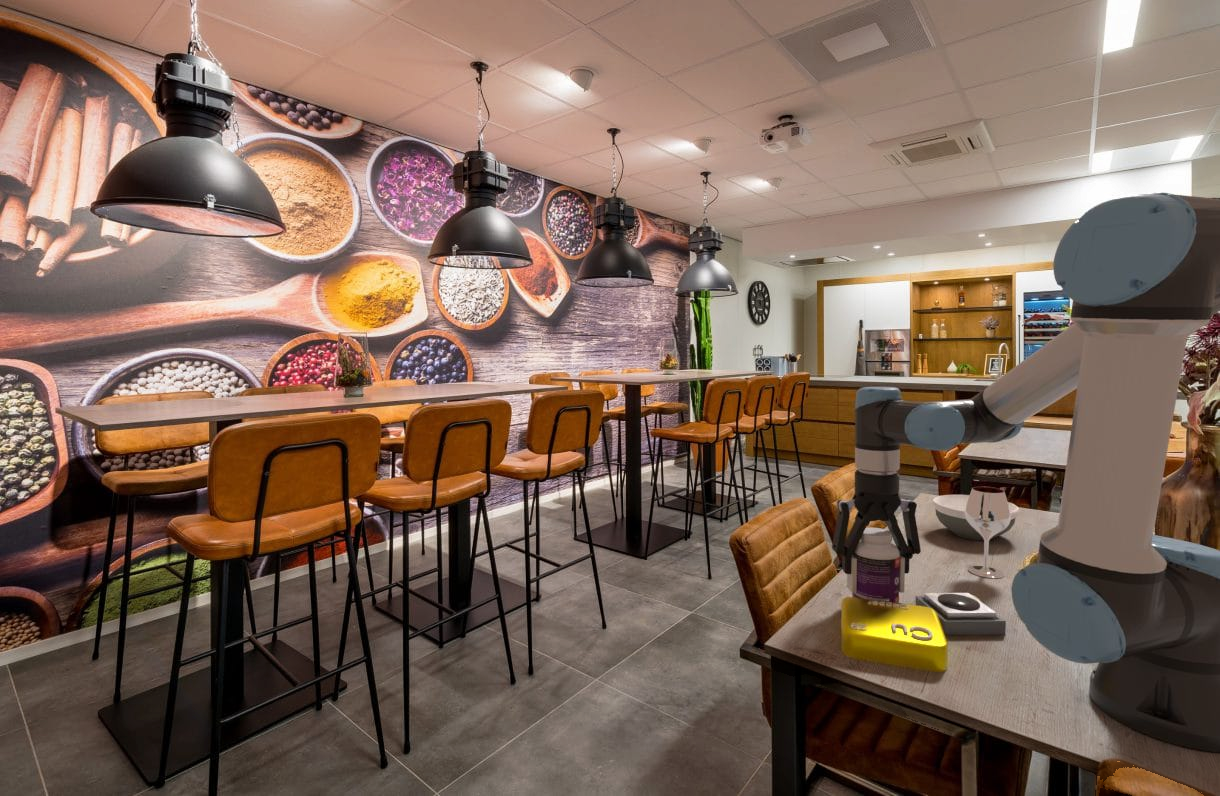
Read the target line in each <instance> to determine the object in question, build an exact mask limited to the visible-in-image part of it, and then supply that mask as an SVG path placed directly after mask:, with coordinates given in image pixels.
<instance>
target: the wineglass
mask: <svg viewBox="0 0 1220 796" xmlns="http://www.w3.org/2000/svg"><path fill="white" fill-rule="evenodd" d="M969 495H970V496H969V499H968V501H967V505H966V508H965V518H966V520H967V522H968V523H969V524H970V526H971V527H972V528H974V529H975V530H976V531H977V532H978V533H979V534H980V535H981V536H982V537H983V539H984V540H983V541H984V542H983V543H984V544H983V565H972V566H969V567H968V572H969V573H971V574H973V575H974V576H978V577H980V578H986V579H988V578H989V579H1001V578H1004V576H1005V573H1004V572H1002V571H1001V570H1000V569H997V568H995V567H994V568H993V567H990V566H989V546H990V545H989V543H990V540H992V539H991V538H992V537H993V536H994V535H996V534H998V533H999V532H1001V531H1003V530H1004V529H1005V528H1006V527H1007V526H1008V525H1009V523H1010V521H1011V515H1010V510H1009V506H1008V502H1009V501H1008V500H1007V495H1006V492H1005V490H1003V489H1001V488H996V487H991V486H974V487H972V488H971V491H970V493H969Z"/></svg>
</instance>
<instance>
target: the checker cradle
mask: <svg viewBox="0 0 1220 796" xmlns="http://www.w3.org/2000/svg"><path fill="white" fill-rule="evenodd" d="M971 595H972V594H971ZM972 596H974V597H975V598H976V599H978V600H979V601H981V599H980V598H978V597H977V596H976V595H972ZM981 602H982V601H981ZM915 605H917V606H924V607H929V608H932V607H931V606H930V605H929V604H928V603H926V602H925V601H924V595H921V596H920V595H916V596H915ZM932 609H933V610H934V611H935V612H936V613H937V615H938V618H939V621H940V623H941V626H942V629H943V632H944V635H945V636H1006V627H1007V625H1006V624H1007V621H1006V620H1005V619H1004V618H1002V617H1001V616H1000V615H998V614H997V613H996V619H985V620H946V619H945V618H944V617H943V616H942V615H941V614H939V613H938V612H937V611H936V610H935V609H934V608H932Z"/></svg>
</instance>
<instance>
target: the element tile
mask: <svg viewBox="0 0 1220 796" xmlns="http://www.w3.org/2000/svg"><path fill="white" fill-rule="evenodd" d="M840 619H841V623H840V624H841V625H840V626H841V627H840V628H841V632H840V634H841V637H840V639H841V641H840V644H841V652H842V653H843V655H844V656H846V655H847V656H846V657H848V656H849V657H848V658H851V659H856V660H861V661H867V662H872V663H873V662H874V663H878V664H879V663H880V664H887V665H891V666H892V665H893V666H896V667H904V668H910V669H915V670H921V671H928V672H935V673H942V672H946V671H947V669H948V664H949V662H948V661H949V660H948V659H949V658H948V657H949V643H948V640H947V637H946V635H944V632H943V629H942V626H941V623H940V621H939V618H938V615H937V613H936V612H935V611H934V610H933V609H932V608H929V607H924V606H917V605H916V604H908V603H900V602H899V603H894V602H886V601H878V600H870V599H862V598H854V597H852V596H846V597H845V598H843V599H842V600H841V617H840Z"/></svg>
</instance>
